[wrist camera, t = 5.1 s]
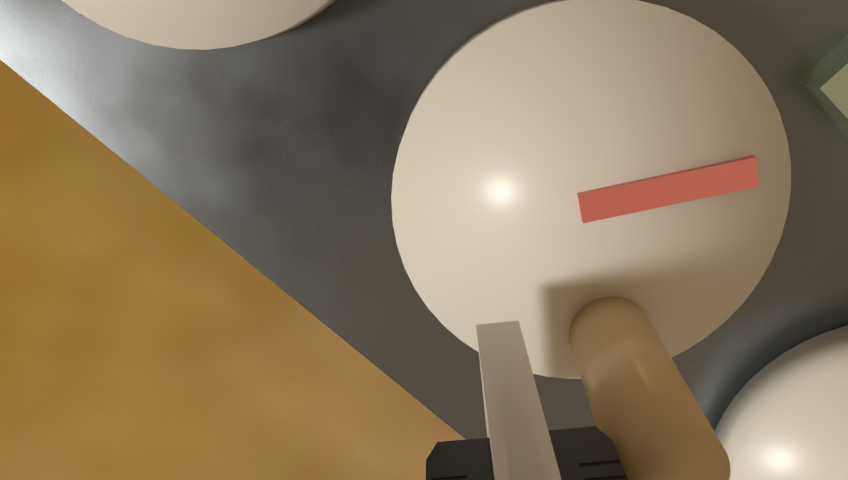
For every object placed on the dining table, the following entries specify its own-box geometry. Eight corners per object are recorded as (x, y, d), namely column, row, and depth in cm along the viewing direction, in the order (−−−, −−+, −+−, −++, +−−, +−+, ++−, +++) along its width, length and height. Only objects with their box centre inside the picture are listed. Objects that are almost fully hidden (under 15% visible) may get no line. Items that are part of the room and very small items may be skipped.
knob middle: (441, 376, 20) (434, 567, 14) (355, 48, 17) (293, 86, 11) (777, 313, 19) (948, 486, 13) (744, -48, 16) (943, -71, 10)
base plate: (-129, -74, 18) (-213, -82, 16) (226, -684, 14) (180, -813, 12) (764, 663, 25) (795, 731, 23) (1176, 389, 21) (1265, 439, 19)
